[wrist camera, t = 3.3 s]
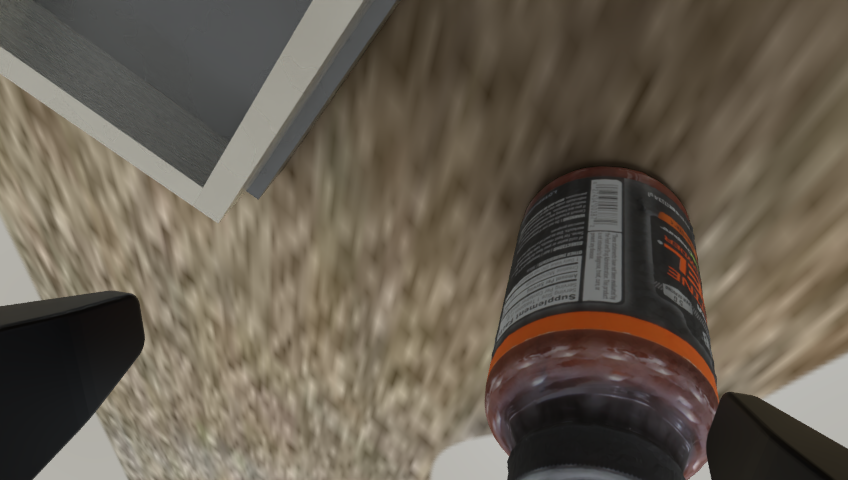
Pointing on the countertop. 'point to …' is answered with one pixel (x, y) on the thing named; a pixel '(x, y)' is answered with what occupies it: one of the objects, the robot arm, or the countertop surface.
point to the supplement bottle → (603, 336)
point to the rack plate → (190, 80)
